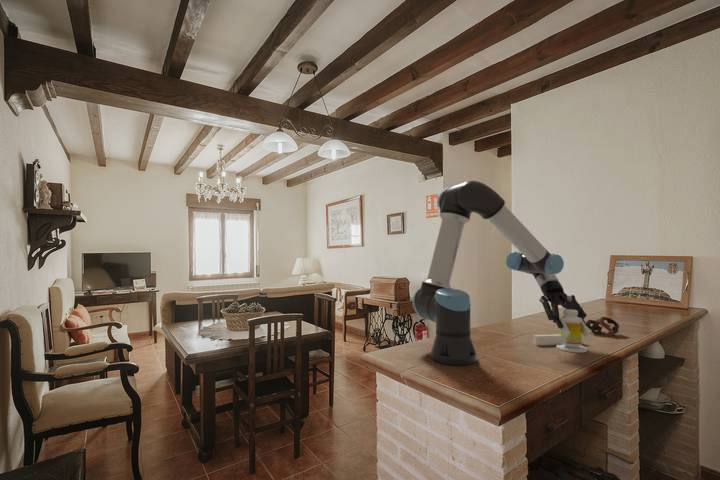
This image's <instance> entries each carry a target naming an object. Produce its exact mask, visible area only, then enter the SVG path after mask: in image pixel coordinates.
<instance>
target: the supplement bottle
mask: <svg viewBox="0 0 720 480" xmlns="http://www.w3.org/2000/svg"><path fill="white" fill-rule="evenodd" d="M577 315H578V311H577V310H572V309H566V308H563V316H561V317H560V318H563V320H564V322H565V324H566V326H567V328H568V330H569V331H570V333H571V334H570V335H569V336H568V337H567V338H565V336H564V334H563V332H562V330H561V329H560V334H561V343H562V344H563V345H566V346H570V347H580V346H583V344H582V335H583V333H582V332H581V319H580V318H578V317H579V316H578V317H577Z"/></svg>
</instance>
